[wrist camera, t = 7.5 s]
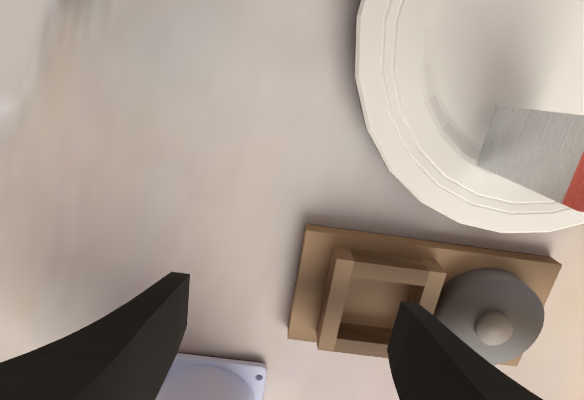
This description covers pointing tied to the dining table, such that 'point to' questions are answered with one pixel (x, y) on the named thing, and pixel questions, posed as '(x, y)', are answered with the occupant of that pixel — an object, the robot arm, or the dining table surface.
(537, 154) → the pin
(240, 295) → the dining table surface
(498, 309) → the board
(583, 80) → the plate
